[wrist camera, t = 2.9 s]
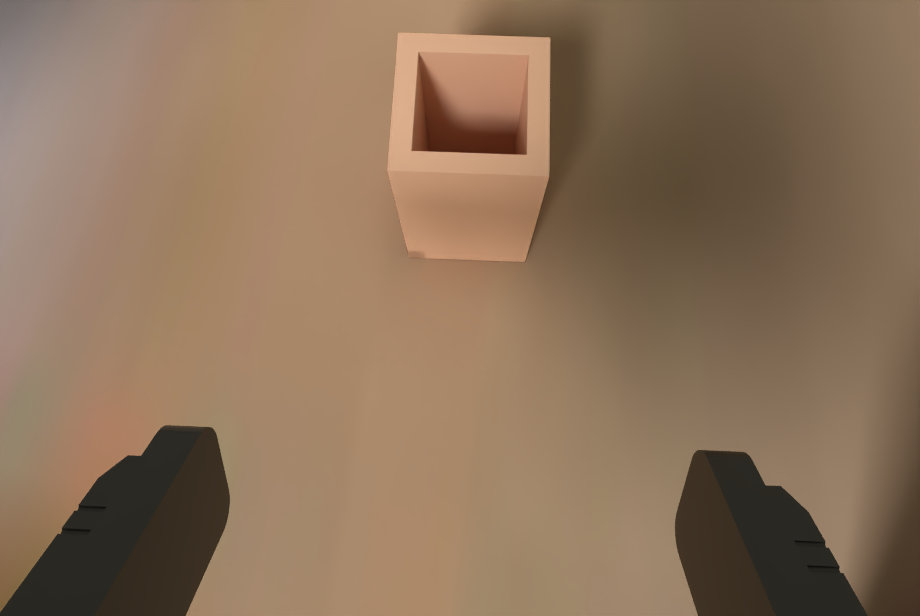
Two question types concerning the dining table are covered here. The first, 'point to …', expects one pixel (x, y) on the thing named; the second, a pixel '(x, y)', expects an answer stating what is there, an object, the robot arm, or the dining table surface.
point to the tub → (470, 143)
